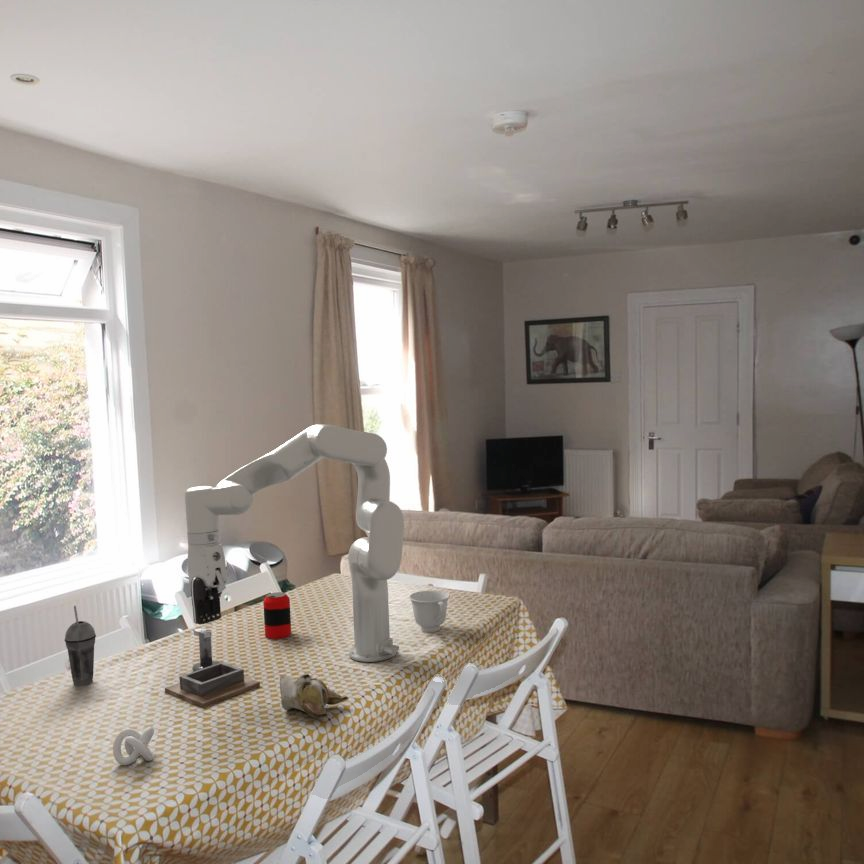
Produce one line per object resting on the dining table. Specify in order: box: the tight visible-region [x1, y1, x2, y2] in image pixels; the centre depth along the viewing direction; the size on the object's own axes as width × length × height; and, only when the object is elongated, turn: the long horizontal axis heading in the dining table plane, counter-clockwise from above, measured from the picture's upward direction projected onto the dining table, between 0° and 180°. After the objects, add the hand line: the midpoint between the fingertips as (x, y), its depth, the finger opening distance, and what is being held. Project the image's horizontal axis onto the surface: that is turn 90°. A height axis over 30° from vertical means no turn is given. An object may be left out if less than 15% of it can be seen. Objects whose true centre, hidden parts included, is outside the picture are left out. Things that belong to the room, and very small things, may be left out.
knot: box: [112, 726, 155, 766], centre depth 157 cm, size 8×8×6 cm
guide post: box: [192, 627, 221, 672], centre depth 206 cm, size 7×7×10 cm
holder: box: [164, 661, 261, 708], centre depth 192 cm, size 16×16×4 cm
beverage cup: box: [64, 605, 97, 687], centre depth 199 cm, size 7×7×20 cm
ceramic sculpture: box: [279, 673, 349, 719], centre depth 177 cm, size 11×9×15 cm
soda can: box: [262, 591, 292, 640], centre depth 232 cm, size 8×8×12 cm
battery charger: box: [190, 577, 223, 625], centre depth 191 cm, size 7×4×11 cm, turn 144°
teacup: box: [408, 590, 451, 633], centre depth 232 cm, size 12×15×10 cm
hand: (208, 612), depth 192 cm, fingers closed on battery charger, 3 cm apart
